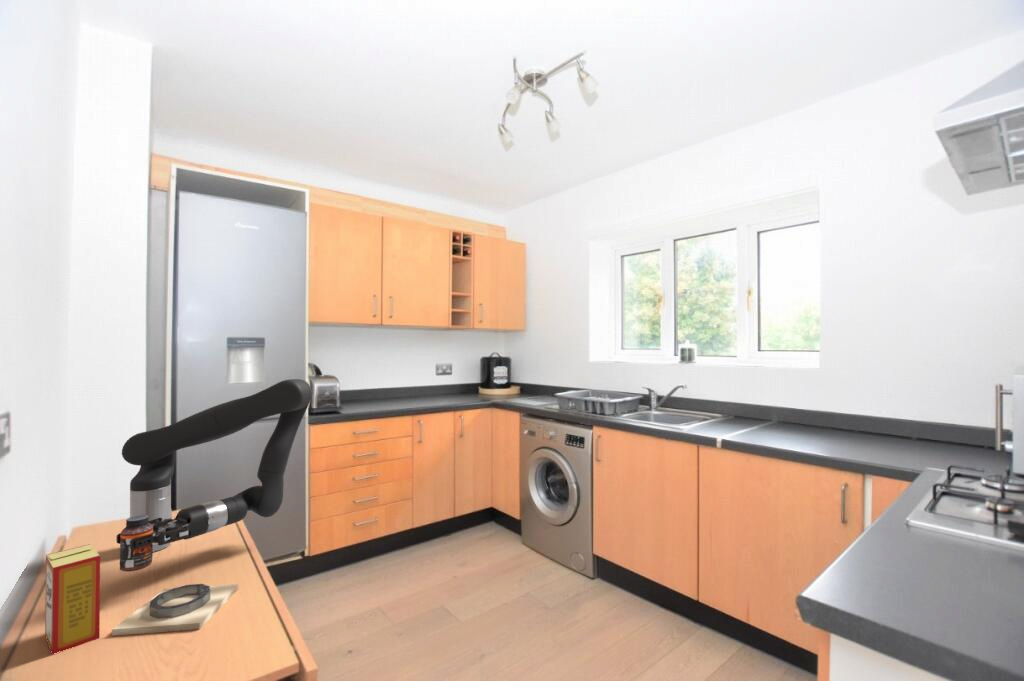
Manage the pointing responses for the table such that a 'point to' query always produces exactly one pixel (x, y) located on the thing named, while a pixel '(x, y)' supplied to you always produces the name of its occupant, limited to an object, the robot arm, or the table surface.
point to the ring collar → (180, 609)
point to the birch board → (191, 621)
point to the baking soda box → (72, 597)
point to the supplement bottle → (139, 556)
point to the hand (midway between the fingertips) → (124, 542)
